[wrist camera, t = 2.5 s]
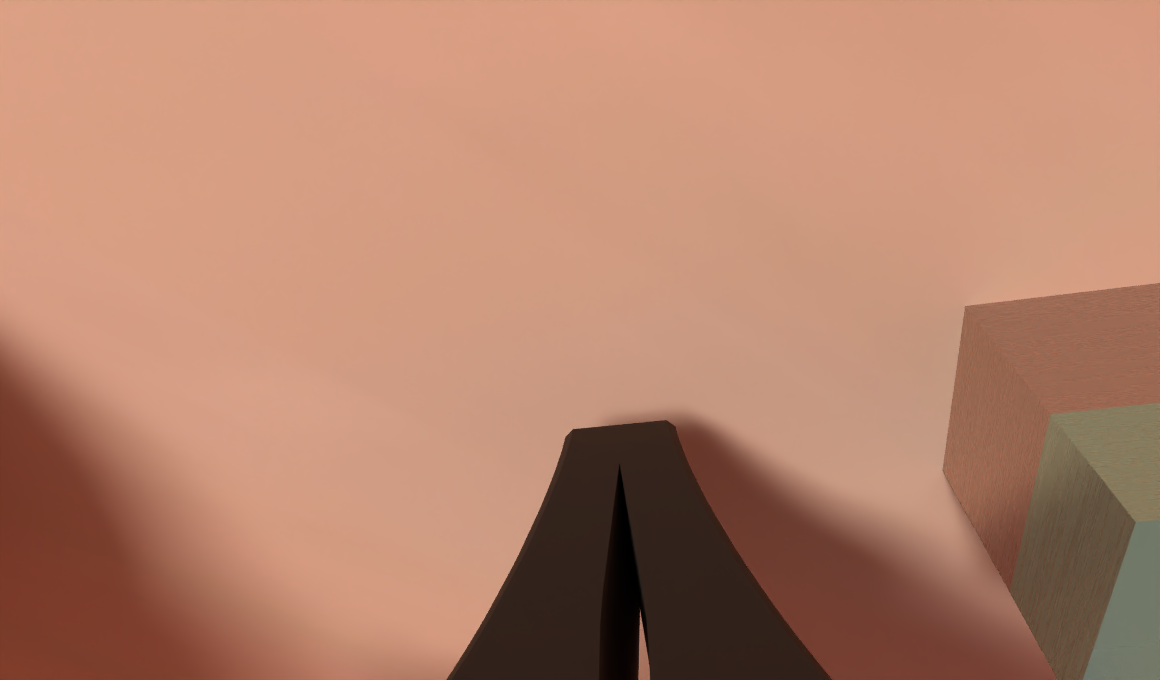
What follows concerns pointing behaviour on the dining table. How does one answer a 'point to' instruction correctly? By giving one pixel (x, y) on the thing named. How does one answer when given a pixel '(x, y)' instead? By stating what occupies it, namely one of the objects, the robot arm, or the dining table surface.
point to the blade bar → (1067, 470)
